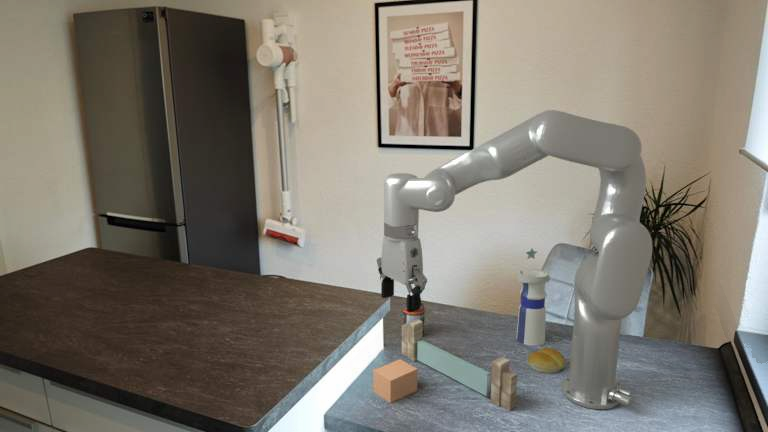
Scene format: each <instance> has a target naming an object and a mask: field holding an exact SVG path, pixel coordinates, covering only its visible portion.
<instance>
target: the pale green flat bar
mask: <svg viewBox="0 0 768 432" xmlns="http://www.w3.org/2000/svg"><path fill="white" fill-rule="evenodd" d="M416 361H419V362H420V363H422V364H424V365H426V366H428V367H430V368H432V369H434V370H436V371H438V372H439V373H442V374H443V375H445V376H447V377H449V378H450V379H453V380H455V381H456V382H459V383H460V384H463V385H464V386H465V387H468V388H470V389H472V390H474V391H475V392H478V393H480V394H481V395H484V396H485V397H487V398H488V399H491V381H492V372H489V371H487V370H485V369H483V368H481V367H478V366H476V365H475V364H473V363H470V362H469V361H466V360H464V359H462V358H460V357H459V356H456V355H454V354H451V353H450V352H447V351H446V350H443V349H441V348H439V347H437V346H436V345H433V344H431V343H429V342H426V341H425V340H423V339H422V340H420V341H418V342H417V360H416Z"/></svg>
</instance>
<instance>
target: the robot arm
mask: <svg viewBox="0 0 768 432" xmlns="http://www.w3.org/2000/svg"><path fill="white" fill-rule="evenodd" d="M641 154H642V141H641V140H640V137H639V135H638V133H636V132H635V131H634V130H633V129H631V128H630V127H627V126H623V125H619V124H616V123H615V124H614V123H610V122H605V121H600V120H594V119H590V118H587V117H582V116H579V115H575V114H571V113H568V112H565V111H561V110H554V109H548V110H544V111H543V112H540V113H538V114H536V115H534V116H531V117H530V118H528V119H526V120H525V121H523V122H521V123H519V124H517V125H515V126H514V127H512V128H510V129H509V130H507V131H504V132H503V133H501V134H498V135H497V136H496V137H494V138H492V139H490V140H487V141H486V142H483V143H482V144H480V145H478V146H476V147H475V148H472V149H471V150H469V151H467V152H465V153H462V154H461V155H458V156H457V157H455V158H453V159H451V160H449V161H447V162H446V163H444V164H442V165H440V166H438V167H437V168H435V169H433V170H431V171H430V172H428V173H427V174H426V175H425V176H424V177H418V175H415V174H413V173H406V172H404V173H403V172H400V173H399V172H398V173H391V174H389V175H387V176H386V177H385V178H384V184H383V188H384V189H383V190H384V191H383V192H384V193H383V194H384V195H383V202H384V203H383V211H384V212H383V215H384V216H383V239H382V244H381V247H382V248H381V257H378V258H376V265H377V269H378V270H377V271H378V273H379V275H380V277H379V280H380V281H381V284H380V285H381V286H380V287H381V288H380V289H381V292H380V293H381V298H382V299H386V298H390V297H391V298H392V297H393V296H395V282H398V283H400V284H402V285H405V286H406V287H405V288H406V289H407V292H408V294H407V295H406V300H407V312H413V311H417V310H419V309H420V297H421V294H423V292H424V291H425V287H426V286H427V283H428V278H427V277H426V275H424V263H423V259H424V258H423V250H422V244H421V239H420V238H419V218H420V217H419V216H420V214H419V213H420V211H421V210H422V211H426V212H432V213H439V212H440V213H441V212H444V211H447V209H449V208H450V207H452V205H453V204H454V201H455V199H456V195H458V194H460V193H462V192H464V191H466V190H468V189H469V188H472V187H474V186H477V185H479V184H482V183H485V182H490V181H499V180H503V179H507V178H508V177H511V176H512V175H513V176H514V174H516V173H518V172H520V171H522V170H525V168H527V167H529V166H531V165H533V164H535V163H537V162H539V161H542V160H544V159H545V158H547V157H549V156H550V157H553V158H557V159H560V160H563V161H567V162H571V163H575V164H579V165H583V166H588V167H592V168H597V169H598V172H599V176H600V183H599V185H600V186H599V190H598V191H599V192H598V198H597V201H596V206H595V209H594V213H593V214H594V215H593V219H592V222H591V226H590V229H589V230H590V231H589V238H590V239H589V240H590V242H591V244H592V246H593V247H594V248H595V249H596V251H597V252H598V256H592V257H589V258H587V259H585V260H584V261H582V262H581V263H580V264H579V266H578V268H577V269H576V272H575V276H574V283H573V286H574V287H573V290H574V291H573V292H574V314H573V315H574V316H573V328H572V336H571V337H572V340H571V353H570V361H569V362H570V365H569V376H568V377H566V378H565V379H563V381H562V382H561V386H560V389H561V393H562V394H563V396H564V397H565V398H566V399H568V400H569V401H570V402H572V403H574V404H576V405H578V406H580V407H584V408H588V409H593V410H607V409H609V410H610V409H612V408H615V407H617V406H619V405H620V404H622V405H625V406H627V407H630V406H631V405H632V401H633V398H632V392H631V391H629V390H627V389H624V388H622V387H621V386H620V384H621V383H620V382H621V380H620V379H618V378H617V377H616V375H617V368H618V367H617V366H618V365H617V364H618V357H619V348H620V347H619V346H620V337H621V329H622V320H623V319H624V318H627V317H628V316H629V315H631V314H632V313H633V312H634V311H635V310H636V308H637V306H638V304H639V302H640V299H641V298H642V297H641V296H642V292H643V290H644V286H645V282H646V279H647V275H648V272H649V268H650V265H651V261H652V257H653V256H652V255H653V239H652V236H651V233H650V232H649V230H648V229H647V227H645V225H643V224H642V223H641V222H640V220H641V218H640V217H641V215H642V214H641V213H642V209H643V204H644V199H645V194H646V187H647V172H646V167H645V163H644V161H643V158H642V156H641ZM411 279H412V280H411ZM412 285H414V287H413V286H412Z"/></svg>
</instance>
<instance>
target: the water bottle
mask: <svg viewBox="0 0 768 432" xmlns="http://www.w3.org/2000/svg"><path fill="white" fill-rule="evenodd" d="M525 253H526V254H527V255H528V256H527V257H526V259H527V260H529V259H531V258H532V260H533V259H536V258H535V255H536V254H537V253H538V251H535V250H534V248H532V247H531V249H530V250H529V251H526V252H525ZM550 280H551V278H550V274H549V272H547V271H546V270H544V269H540V268H534V267H533V268H530V269H529V275H526V274H524V273H523V271H522V270H519V272H518V283H519V282H520V283H522V287H521V290H520V291H519V300H520V304H519V307H518V317H517V328H516V334H515V336H516V337H515V339H516V340H517V342H518V343H521V344H523V345H526V346H530V347H534V346H535V347H536V346H541V345H543V344H546V343H545V342H546V320H547V318H546V317H547V309H546V306H545V302H546V297H547V296H548V294H547V292H546V288H545V287H546V283H548V282H550Z"/></svg>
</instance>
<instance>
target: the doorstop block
mask: <svg viewBox="0 0 768 432" xmlns="http://www.w3.org/2000/svg"><path fill="white" fill-rule="evenodd" d="M372 371H373V372H372V373H373V374H372V376H373V377H372V378H373V379H372V380H373V382H372V384H373V393H375V394H376V395H378V396H379V397H381V398H383V399H384V400H385V401H387V402H388V403H389V404H392V403H393V402H396V401H397V400H400V399H402V398H404V397H407V396H408V395H410V394H413V393H414V392H417V391H418V368H417V367H415V366H413V365H411V364H410V363H408V362H406V361H404V360H402V359H401V358H399V359H397V360H395V361H392V362H390V363H388V364H386V365H383V366H381V367H380V366H379V367H378V368H376V369H373V370H372Z"/></svg>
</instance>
